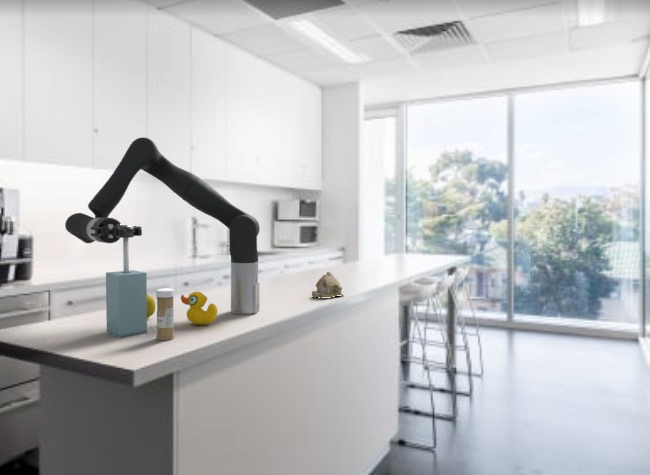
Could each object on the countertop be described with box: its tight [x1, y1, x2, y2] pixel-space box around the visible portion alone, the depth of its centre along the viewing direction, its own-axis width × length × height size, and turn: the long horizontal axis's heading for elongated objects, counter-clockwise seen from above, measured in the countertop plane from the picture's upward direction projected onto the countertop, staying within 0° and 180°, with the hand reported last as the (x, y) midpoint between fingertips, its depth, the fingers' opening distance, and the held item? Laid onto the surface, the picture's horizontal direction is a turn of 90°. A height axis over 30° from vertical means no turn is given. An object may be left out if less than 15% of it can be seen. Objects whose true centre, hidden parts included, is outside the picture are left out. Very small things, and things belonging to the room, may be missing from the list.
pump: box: [118, 226, 135, 273], centre depth 138 cm, size 6×4×14 cm, turn 46°
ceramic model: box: [311, 271, 343, 299], centre depth 202 cm, size 14×11×10 cm
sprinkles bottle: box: [155, 287, 175, 341], centre depth 134 cm, size 5×5×14 cm
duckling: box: [180, 291, 218, 326], centre depth 151 cm, size 11×5×10 cm, turn 82°
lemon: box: [147, 294, 157, 320], centre depth 157 cm, size 6×6×8 cm
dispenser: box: [105, 269, 148, 338], centre depth 140 cm, size 8×8×17 cm
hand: (129, 232), depth 137 cm, fingers open, 5 cm apart
